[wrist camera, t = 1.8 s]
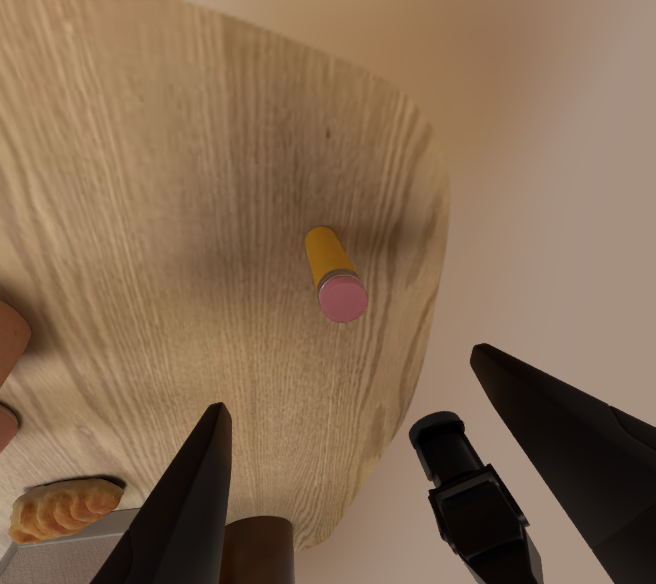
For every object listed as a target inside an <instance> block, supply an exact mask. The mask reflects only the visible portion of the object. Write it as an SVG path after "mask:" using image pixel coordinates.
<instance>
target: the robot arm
mask: <svg viewBox="0 0 656 584" xmlns="http://www.w3.org/2000/svg"><path fill="white" fill-rule="evenodd" d="M470 365H471V367H472V369H473V371H474V373H475V374H476V376H477V378H478V380H479V382H480V384H481V385H482V387H483V389H484V391H485V393H486V394H487V396H488V398H489V400H490V402H491V403H492V405H493V407H494V408H495V410H496V411H497V412H498V414H499V416H500V417H501V418H502V420H503V421H504V423H505V424H506V426H507V427H508V429H509V430H510V431H511V433H512V435H513V436H514V437H515V439H516V440H517V442H518V443H519V445H520V446H521V448H522V449H523V450H524V452H525V453H526V455H527V456H528V458H529V459H530V461H531V462H532V464H533V465H534V467H535V468H536V469H537V471H538V472H539V474H540V475H541V477H542V478H543V480H544V481H545V483H546V484H547V485H548V487H549V489H550V490H551V491H552V493H553V494H554V496H555V497H556V499H557V500H558V502H559V503H560V505H561V506H562V507H563V509H564V510H565V512H566V513H567V515H568V516H569V518H570V519H571V521H572V522H573V523H574V525H575V526H576V528H577V529H578V531H579V532H580V534H581V535H582V537H583V538H584V540H585V541H586V543H587V544H588V545H589V547H590V548H591V549H592V551H593V553H594V555H595V556H596V557H597V559H598V560H599V562H600V563H601V565H602V566H603V568H604V569H605V571H606V572H607V574H608V575H609V576H610V578H611V579H612V581H613V582H614V584H656V427H654V426H652V425H650V424H647V423H645V422H643V421H641V420H639V419H637V418H635V417H633V416H631V415H629V414H627V413H625V412H623V411H621V410H619V409H617V408H615V407H612V406H609V405H608V404H607V403H605V402H603V401H601V400H599V399H597V398H595V397H593V396H591V395H589V394H587V393H585V392H583V391H581V390H579V389H577V388H575V387H573V386H571V385H569V384H567V383H565V382H563V381H561V380H559V379H557V378H555V377H553V376H551V375H549V374H547V373H545V372H543V371H541V370H539V369H537V368H535V367H533V366H531V365H529V364H527V363H525V362H523V361H521V360H519V359H517V358H515V357H513V356H511V355H509V354H507V353H505V352H503V351H501V350H499V349H497V348H495V347H493V346H491V345H489V344H486V343H482V344H478V345H475V346H474V347H473V350H472V354H471V358H470ZM463 428H464V422H463V421H462V420H459V421H455V422H450V423H446V424H441V425H436V426H432V427H427V428H423V429H421V430H420V431H419V437H418V442H417V447H416V453H417V455H418V458H419V460H420V462H421V465H422V467H423V469H424V472H425V474H426V476H427V478H428V480H429V481H433V483H434V485H435V487H436V488H435V489H430V490H429V494H430V495H429V496H428V499H429V501H430V503H431V506H432V509H433V511H434V514H435V518H436V521H437V525H438V529H439V532H440V535H441V538H442V539H443V540H444V541H446V542H447V543H448V544H449V546H450V547H451V548H452V550H453V552H454V553H455V554H456V555H457V554H459V556H460V558H461V559H462V561H463V562H464V564H465V565H466V567H467V568H468V570H469V571H470V573H471V574H472V575H473V577H474V578H475V580H476V581H477V582H478V584H544V582H543V573H542V564H541V557H540V555H539V553H538V551H537V549H536V547H535V546H534V544H533V542H532V540H531V538H530V537H529V535H528V533H527V531H526V529H525V527H528V526H530V524H529V523H528V521H527V519H526V517H525V516H524V514H523V512H522V511H521V509H520V507H519V506H518V504H517V503H516V501H515V500H514V498H513V497H512V495H511V493H510V492H509V491H508V489H507V488H506V486H505V484H504V483H503V481H502V480H501V479H500V477H499V475H498V474H497V472H496V471H495V470H494V468H493V466H492V465H491V464H487V466H484V464H483V463H482V461H481V459H480V458H479V456H478V455H477V453H476V451H475V450H474V448H473V447H472V445H471V443H470V442H469V440H468V438H467V437H466V435H465V433H464V432H463ZM231 464H232V419H231V415H230V413H229V412H228V410H227V408H226V406H225V404H224V403H223V402H219V403H214V404H211V405H210V406H209V407H208V408H207V410H206V411H205V413H204V414H203V416H202V417H201V419H200V420H199V422H198V423H197V425H196V426H195V428H194V429H193V431H192V432H191V434H190V435H189V437H188V438H187V440H186V441H185V443H184V444H183V446H182V447H181V449H180V450H179V452H178V453H177V455H176V456H175V458H174V459H173V461H172V462H171V464H170V465H169V467H168V468H167V470H166V471H165V473H164V474H163V476H162V477H161V479H160V480H159V482H158V483H157V485H156V486H155V488H154V489H153V491H152V492H151V494H150V495H149V497H148V498H147V500H146V501H145V503H144V504H143V506H142V507H141V509H140V510H139V512H138V513H137V515H136V516H135V518H134V519H133V521H132V522H131V524H130V525H129V529H127V530H126V531H125V533H124V534H123V536H122V537H121V539H120V540H119V542H118V543H117V545H116V546H115V548H114V549H113V550H112V552H111V553H110V555H109V556H108V558H107V559H106V561H105V562H104V563H103V565H102V566H101V568H100V569H99V571H98V572H97V574H96V575H95V576H94V578H93V579H92V580H91V582H90V583H89V584H219V576H220V567H221V558H222V549H223V541H224V532H225V523H226V514H227V505H228V497H229V488H230V479H231Z"/></svg>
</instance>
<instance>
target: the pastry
mask: <svg viewBox="0 0 656 584" xmlns="http://www.w3.org/2000/svg"><path fill="white" fill-rule="evenodd" d="M123 494H124V490H122V489H121V488H120V487H119V486H117V485H115V484H113V483H111V482H109V481H106V480H102V479H101V478H100V479H96V478H91V479H89V480H79V479H76V480H72V481H67V482H66V481H62V482H57V483H52V484H50V485H48V486H44V485H42V486H38V487H35V488H33V489H32V490H30V491H28V492H27V493H25V494H24V495H22V496H20V497H19V498H18V499H17V500H16V501H15V502H14V504H13V511H12V514H11V516H10V519H11V526H10V528H9V535H10V537H11V538H12V540H13V541H15V542H16V543H18V544H20V545H22V544H29V543H34V544H40V543H41V542H42V541H44V540H47V539H56V538H58V537H61V536H70V535H73V534H75V533H78V532H79V531H81V530H82V529H83V528H84V527H86V526H88V525H89V524H92V523H93V522H95V521H98V520H99V519H101V518H102V517H104V516H105V515H107V514H109V513H110V512H111V511H112V510H114V509H115V508H116V507H117V506H118V504H119V502H120V499H121V497H122V495H123Z"/></svg>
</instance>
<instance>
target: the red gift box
mask: <svg viewBox="0 0 656 584" xmlns="http://www.w3.org/2000/svg"><path fill="white" fill-rule="evenodd" d="M140 509H141V508H139V509H131V510H122V511H113V512H110V513H109V514H107V515H105V516H104V517H102V518H101V519H99V520H98V521H95V522H93V523H92V524H89V525H88V526H86V527H84V528H83V529H82V530H81V531H79V532H78V533H75V534H73V535H70V536H61V537H58V538H56V539H47V540H44V541H42V542H41V543H40V544H34V543H29V544H22V545H20V544H18V543H16V542H15V541H13V542H12V544H11V545H10V547H9V548H8V550H7V551H6V553H5V555H4V556H3V558H2V559H1V561H0V584H89V583H90V582H91V580H92V579H93V578H94V576H95V575H96V574H97V572H98V571H99V569H100V568H101V566H102V565H103V563H104V562H105V561H106V559H107V558H108V556H109V555H110V553H111V552H112V550H113V549H114V548H115V546H116V545H117V543H118V542H119V540H120V539H121V537H122V536H123V534H124V533H125V531H126V530H127V529H129V525H130V524H131V522H132V521H133V519H134V518H135V516H136V515H137V513H138V512H139V510H140Z"/></svg>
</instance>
